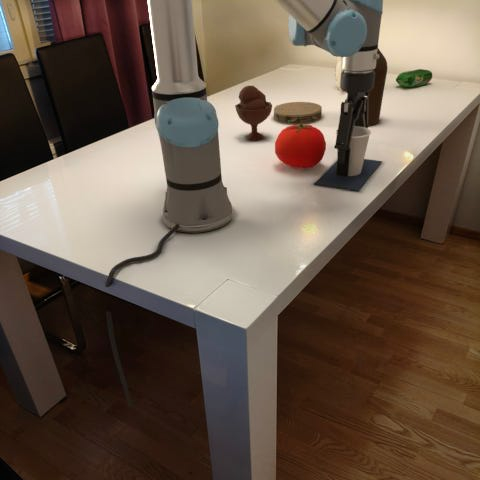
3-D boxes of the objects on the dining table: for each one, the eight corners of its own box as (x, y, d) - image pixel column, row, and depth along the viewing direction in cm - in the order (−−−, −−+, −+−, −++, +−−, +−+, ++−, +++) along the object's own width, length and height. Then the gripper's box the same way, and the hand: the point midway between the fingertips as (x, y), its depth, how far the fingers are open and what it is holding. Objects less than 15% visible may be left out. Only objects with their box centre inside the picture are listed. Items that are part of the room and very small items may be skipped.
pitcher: (325, 94, 185) (327, 54, 177) (341, 83, 197) (344, 45, 189) (353, 96, 181) (357, 55, 172) (368, 85, 193) (372, 46, 185)
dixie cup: (332, 178, 120) (335, 136, 114) (332, 165, 127) (335, 125, 121) (367, 178, 119) (372, 136, 113) (365, 165, 125) (369, 125, 119)
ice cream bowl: (270, 144, 144) (269, 89, 135) (233, 143, 146) (229, 89, 137) (275, 132, 152) (274, 80, 143) (240, 132, 154) (237, 80, 145)
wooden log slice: (276, 126, 157) (276, 116, 156) (271, 112, 170) (271, 103, 168) (325, 123, 157) (325, 113, 155) (317, 109, 170) (317, 100, 168)
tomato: (333, 163, 129) (335, 121, 123) (311, 179, 121) (312, 135, 115) (289, 155, 136) (289, 115, 129) (265, 170, 128) (265, 128, 121)
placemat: (358, 191, 114) (358, 190, 114) (314, 184, 118) (314, 183, 118) (381, 162, 128) (381, 161, 127) (341, 157, 132) (341, 156, 132)
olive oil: (366, 115, 162) (375, 28, 146) (387, 122, 154) (399, 31, 139) (340, 121, 158) (346, 32, 143) (361, 129, 150) (370, 36, 135)
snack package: (391, 87, 189) (393, 72, 186) (420, 80, 195) (422, 66, 191) (404, 91, 184) (406, 76, 181) (434, 84, 190) (437, 69, 186)
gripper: (358, 83, 99) (349, 186, 113) (388, 60, 115) (377, 153, 128) (323, 81, 102) (318, 182, 116) (357, 59, 118) (349, 150, 131)
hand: (349, 167), depth 122 cm, fingers open, 11 cm apart
